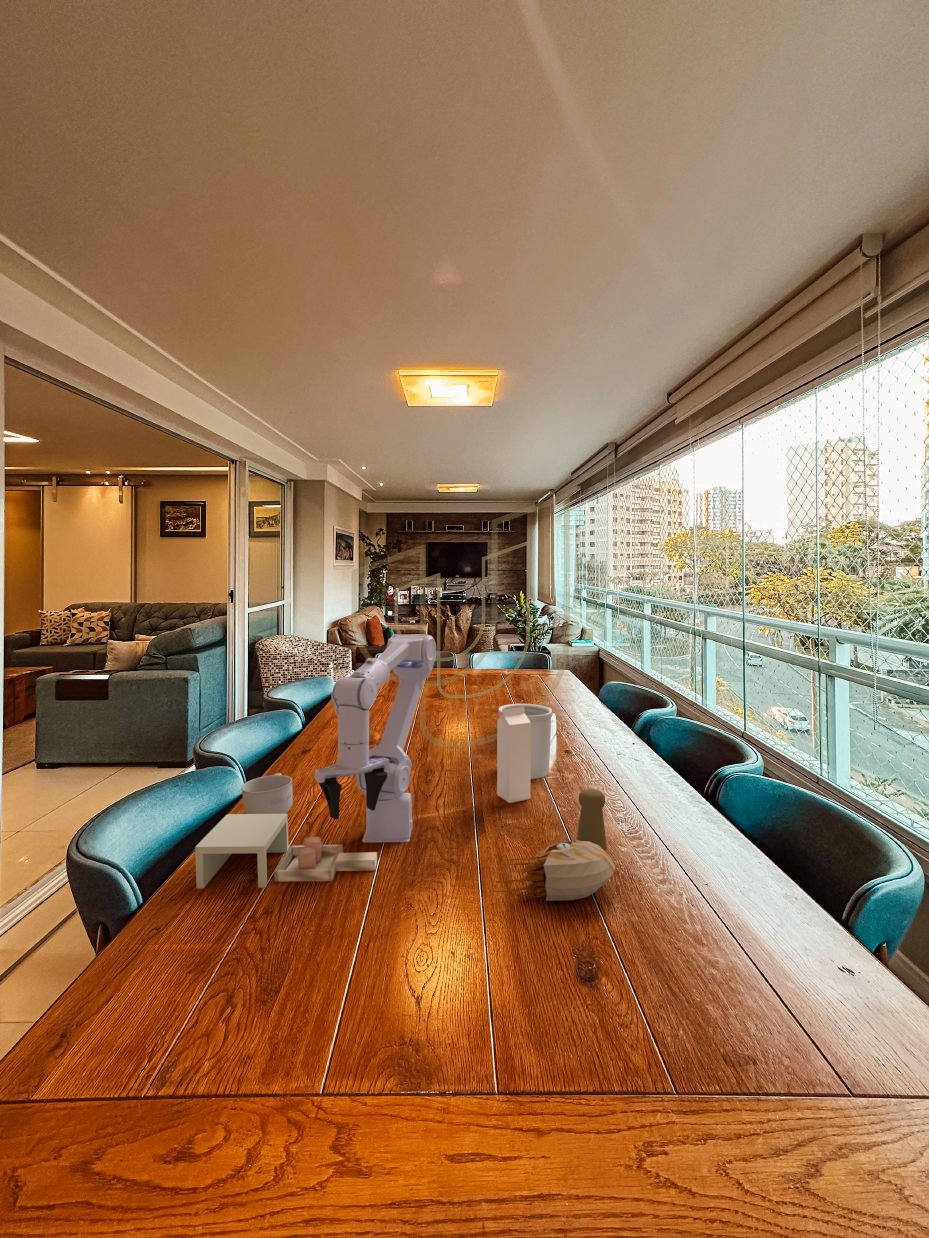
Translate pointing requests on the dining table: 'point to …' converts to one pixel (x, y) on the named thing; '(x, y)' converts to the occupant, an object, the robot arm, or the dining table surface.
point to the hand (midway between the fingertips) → (353, 813)
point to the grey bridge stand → (241, 843)
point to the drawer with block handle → (324, 864)
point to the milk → (513, 755)
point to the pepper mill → (592, 817)
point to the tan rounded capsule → (315, 847)
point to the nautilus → (565, 871)
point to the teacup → (268, 795)
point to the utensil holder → (537, 736)
